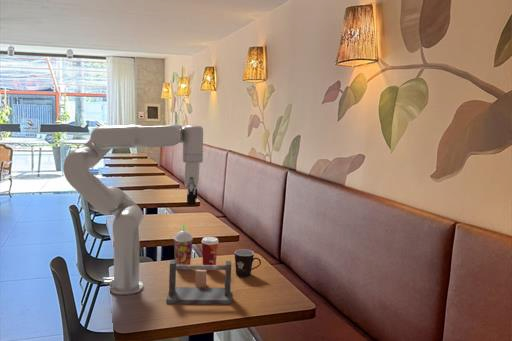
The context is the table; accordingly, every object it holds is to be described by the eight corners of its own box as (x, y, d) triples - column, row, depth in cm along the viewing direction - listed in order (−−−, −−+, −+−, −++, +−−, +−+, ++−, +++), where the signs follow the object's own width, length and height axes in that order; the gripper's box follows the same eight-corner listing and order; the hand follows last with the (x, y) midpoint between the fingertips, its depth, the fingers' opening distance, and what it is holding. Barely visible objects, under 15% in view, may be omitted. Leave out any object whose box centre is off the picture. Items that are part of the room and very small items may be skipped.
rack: (166, 303, 159) (167, 267, 157) (169, 290, 170) (170, 256, 167) (231, 303, 161) (233, 268, 159) (230, 291, 172) (232, 257, 170)
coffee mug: (229, 273, 190) (230, 251, 189) (244, 269, 196) (245, 248, 194) (246, 282, 182) (247, 259, 180) (261, 277, 187) (262, 255, 186)
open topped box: (195, 289, 172) (196, 271, 171) (196, 283, 178) (196, 266, 176) (205, 289, 173) (206, 271, 172) (205, 283, 178) (206, 266, 177)
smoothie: (173, 264, 197) (174, 221, 194) (191, 263, 199) (192, 222, 196) (173, 271, 189) (174, 227, 186) (192, 270, 191) (193, 227, 188)
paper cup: (214, 273, 190) (215, 242, 187) (198, 270, 191) (199, 240, 189) (219, 266, 197) (221, 237, 195) (203, 264, 199) (204, 235, 197)
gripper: (184, 155, 172) (184, 196, 175) (180, 160, 155) (180, 206, 158) (203, 155, 173) (202, 197, 175) (201, 161, 156) (200, 207, 158)
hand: (192, 201), depth 167 cm, fingers open, 9 cm apart
